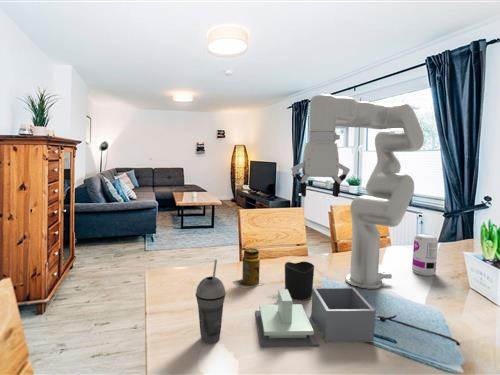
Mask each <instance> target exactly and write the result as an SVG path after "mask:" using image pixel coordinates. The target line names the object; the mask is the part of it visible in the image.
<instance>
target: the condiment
mask: <svg viewBox="0 0 500 375" xmlns="http://www.w3.org/2000/svg"><path fill="white" fill-rule="evenodd" d="M259 253H260V252H259V249H257V248H253V247H252V248H250V247H249V248H245V249H244V250H243V258H242V276H241V277H242V279H239V280H237V279H236V280H233V281H232V282H233V283H235V284H236V285H237V286H238V287H240V288H242V289H244V290H245V289H250V288H253V287H258V286H262V285H264V284H265V283H264V282H262V281H260V269H261V268H260V266H261V265H260V264H261V258H260V254H259Z"/></svg>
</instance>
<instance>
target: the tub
mask: <svg viewBox="0 0 500 375" xmlns="http://www.w3.org/2000/svg"><path fill="white" fill-rule="evenodd" d="M310 314H311V316H313V317H312V319H313V318H314V319H313V321H314V320H315V321H314V322H316V323H315V324H316V327H317V328H318V331H319V332H320V335H321V336H322V338H323V341H324V343H369V341H374V340H375V325H376V324H375V322H376V309H375V308H374V307H373V306H372V305H371V304H370V303H369V302H368V301H367V300H366V299H365V297H364V296H363V295H362V294H361V293H360V292H359V291H358V290H357V289H356V288H355V286H346V287H345V286H342V287H341V286H333V287H331V286H328V287H327V286H326V287H322V286H321V287H318V286H317V287H316V286H315V287H314V286H313V287H312V296H311V313H310Z"/></svg>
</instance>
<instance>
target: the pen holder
mask: <svg viewBox="0 0 500 375" xmlns="http://www.w3.org/2000/svg"><path fill="white" fill-rule="evenodd" d="M314 276H315V265H314V264H313V263H311V262H310V261H299V262H290V261H287V262H285V264H284V289H288V291H289V294H290V296H291V299H292V300H294V301H307V300H310V299H311V298H312V287H314Z"/></svg>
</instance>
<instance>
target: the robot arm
mask: <svg viewBox="0 0 500 375" xmlns="http://www.w3.org/2000/svg"><path fill="white" fill-rule="evenodd" d="M308 126H309V128H308V142H307V143H306V142H305V145H304V149H303V157H302V162H300V163H299V164H297V165H295V166H293V167H291V169H290V170H291V172H292V175H293V176H294V177H295V179H297V181H298V182H299V193H300V195H301V196H302V197H303V198H305V197H306V196H307V183H306V181H307V180H308V179H309V178H311V177H312V178H332V180H333V183H332V196H333V197H334V198H338V197H339V195H340V193H341V184H342V183H343V182H344V180H345V179H347V176H348V174H349V172H350V170H351V169H350V168H349V167H347V166H345V165H344V164H341V163H340V160H339V148H338V144H337V143H336V141H337V140H340V138H341V136H340V134H337V132H336V127H344V128H345V127H347V128H348V127H349V128H362V129H363V128H364V129H373V130H380V131H379V132H377V134H375V138H374V147H375V152H376V156H377V157H376V158H377V160H376V164H375V166H374V169H373V170H372V172H371V175H370V176H369V179H368V180H367V183H366V186H365V191H366V193H367V195H359V196H355V198H354V199H352V201H351V203H350V215H351V222H352V223H351V226H352V228H351V229H352V230H351V232H352V233H351V248H350V250H351V253H350V254H351V255H350V271H349V273H348V274H347V275H346V276H345V282H346V283H348V284H349V285H350V284H351V286H353V285H354V286H353V287H355V286H358V287H357V288H359V287H362V288H361V289H364V288H367V290H374V289H380V288H381V287H383V280H384V279H385V280H387V279H388V280H389V279H392V278H393V275H392V273H391V272H385V271H383V270H381V271H380V270H379V269H380V268H379V266H380V249H381V233H380V230H379V228H378V225H379V226H381V227H382V226H383V227H388V228H389V227H390V228H395V227H397V226H399V225H400V224H401V222H402V221H403V219H404V216H405V214H406V212H407V209H408V207H409V206H410V203H411V200H413V199H412V198H413V195H414V192H415V181H414V179H413V178H412V176H410V175H408V174H406V173H400V171H401V164H400V163H401V162H400V160H398V158H397V157H396V155H395V154H394V152H396V153H397V152H398V153H399V152H401V153H402V152H404V153H405V152H406V153H407V152H408V153H409V152H411V153H412V152H418V151H419V150H420V149H421V148H423V145H424V142H425V136H424V132H423V130H422V127H421V124H420V122H419V120H418V117H417V115H416V113H415V111H414V109H413V107H411V105H409V104H408V103H407V102H404V103H402V102H401V103H392V104H380V103H374V102H370V101H357V100H355V99H354V98H353V97H349V96H334V95H332V94H326V93H325V94H317V95H314V96H312V97H311V98H310V102H309V123H308ZM300 169H301V173H302V175H300V174H299V172H298V170H300ZM339 170H341V171H342V174H340V175H339Z"/></svg>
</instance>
